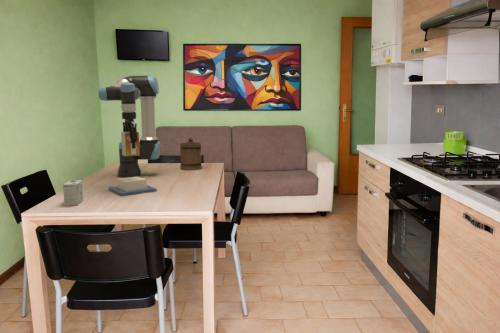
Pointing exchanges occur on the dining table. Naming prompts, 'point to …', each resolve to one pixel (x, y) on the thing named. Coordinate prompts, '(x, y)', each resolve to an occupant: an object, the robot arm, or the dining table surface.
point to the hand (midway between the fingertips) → (130, 153)
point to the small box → (126, 144)
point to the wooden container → (190, 155)
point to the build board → (124, 193)
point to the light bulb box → (73, 192)
